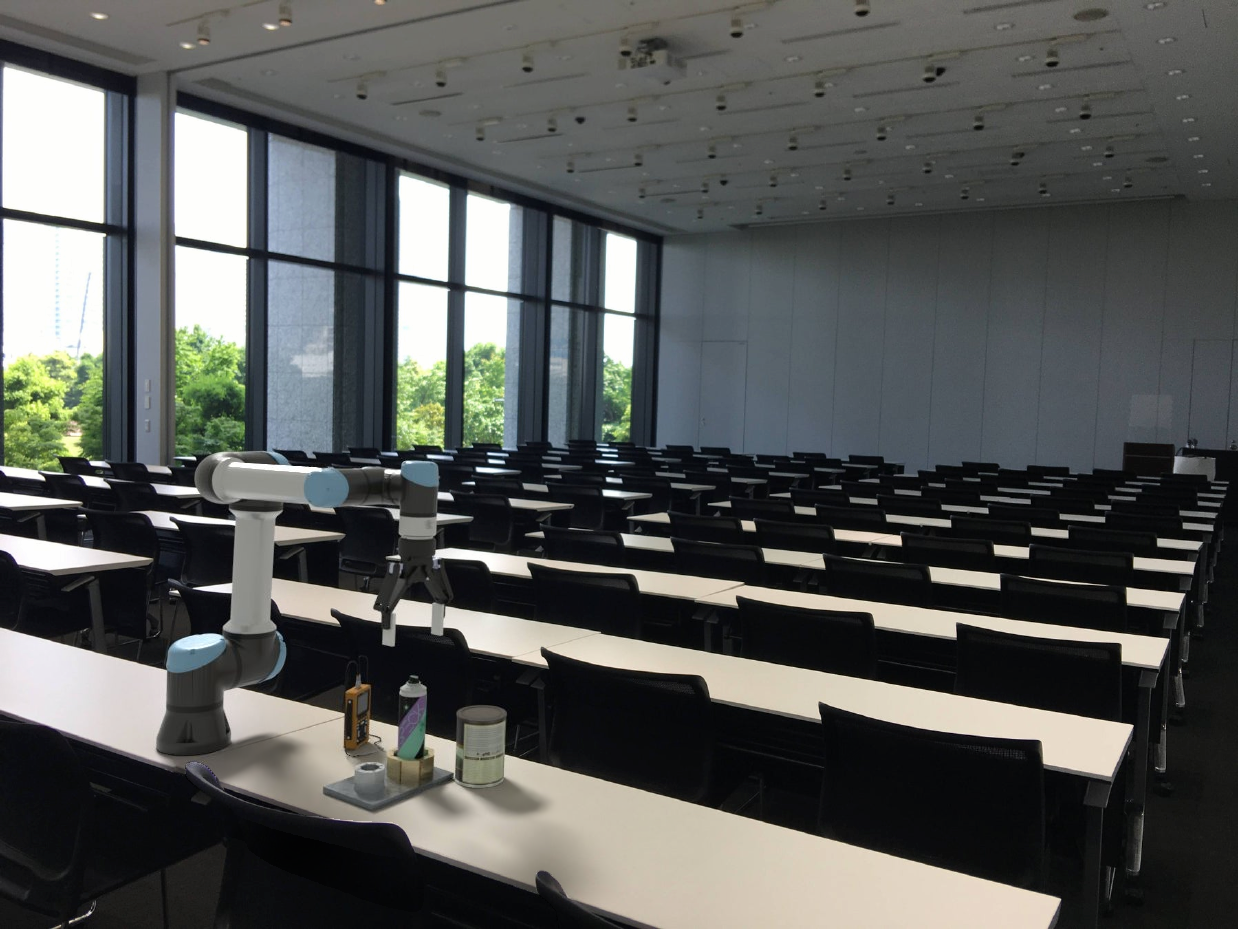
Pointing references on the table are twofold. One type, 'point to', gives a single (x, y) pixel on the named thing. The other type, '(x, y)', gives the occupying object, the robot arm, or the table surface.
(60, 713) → the table surface
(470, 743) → the coffee can
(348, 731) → the multimeter
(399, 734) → the spray can
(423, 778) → the fitting plate
